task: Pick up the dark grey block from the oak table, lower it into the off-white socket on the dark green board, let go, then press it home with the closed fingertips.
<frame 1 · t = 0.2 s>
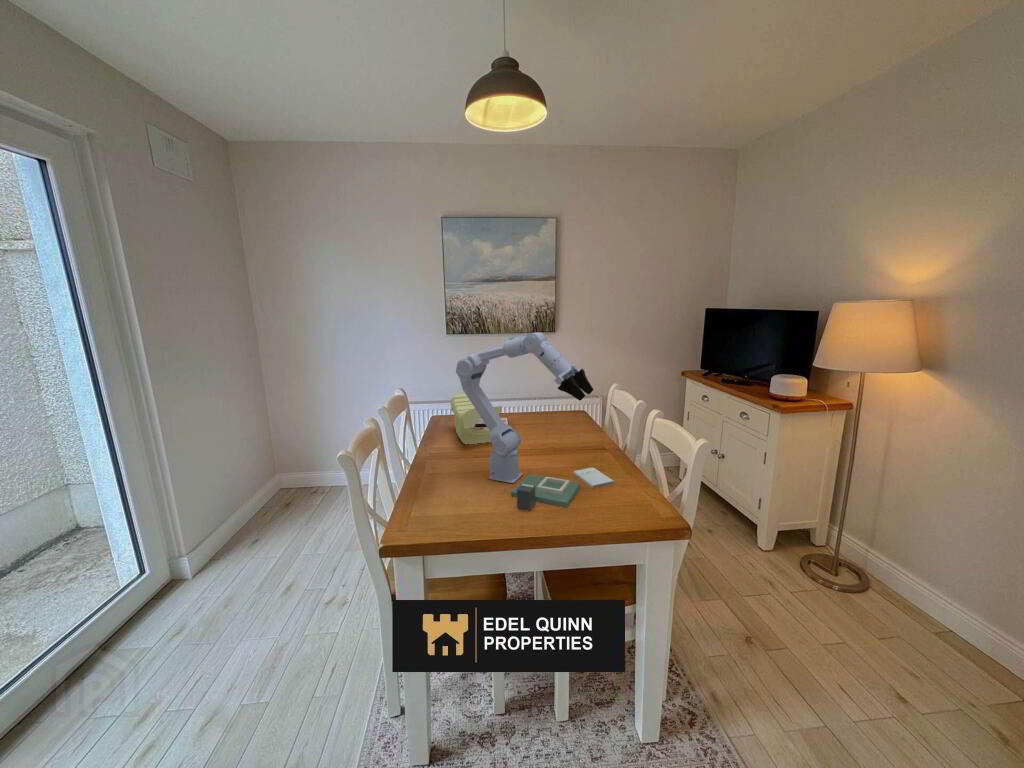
hand: (587, 395, 119), 31 cm above the table, tool tilted 45°, fingers open, 7 cm apart
board: (546, 491, 127), on the table
ridged pale green box: (476, 439, 178), on the table
external hard drive: (593, 480, 135), on the table
dark grey block: (526, 506, 118), on the table
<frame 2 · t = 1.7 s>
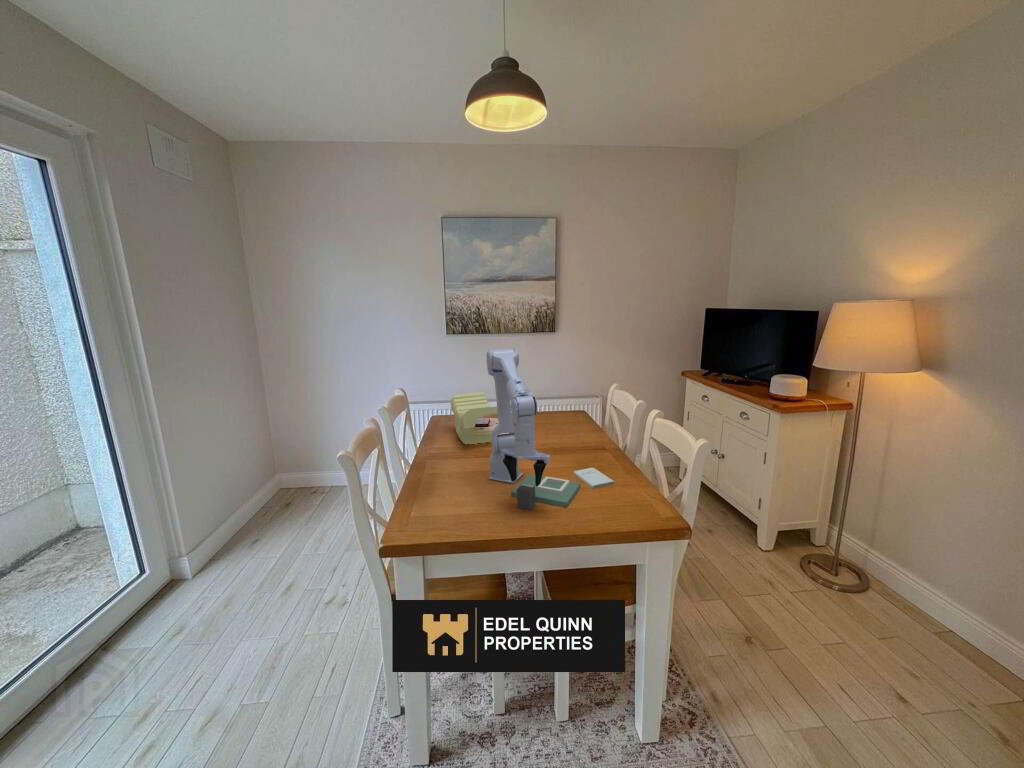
hand: (525, 482, 116), 8 cm above the table, tool pointing down, fingers open, 7 cm apart
nothing on the table moved.
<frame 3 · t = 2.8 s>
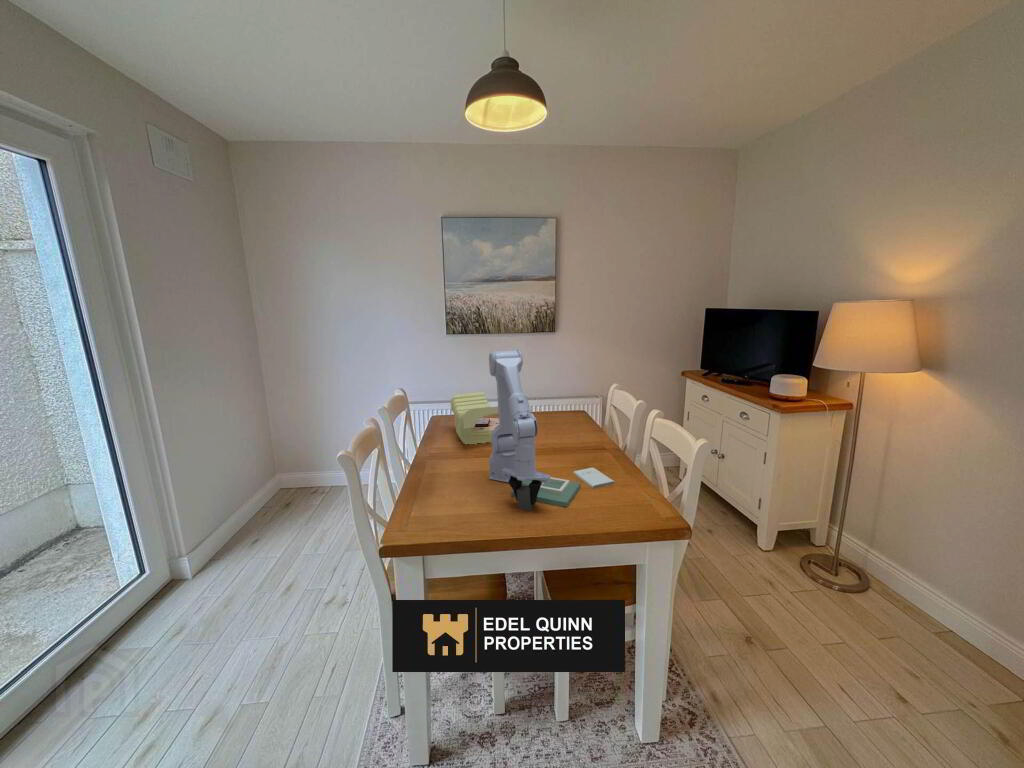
hand: (526, 502, 118), 1 cm above the table, tool pointing down, fingers closed on dark grey block, 4 cm apart
dark grey block: (526, 506, 118), on the table, touching gripper
everything else where it was.
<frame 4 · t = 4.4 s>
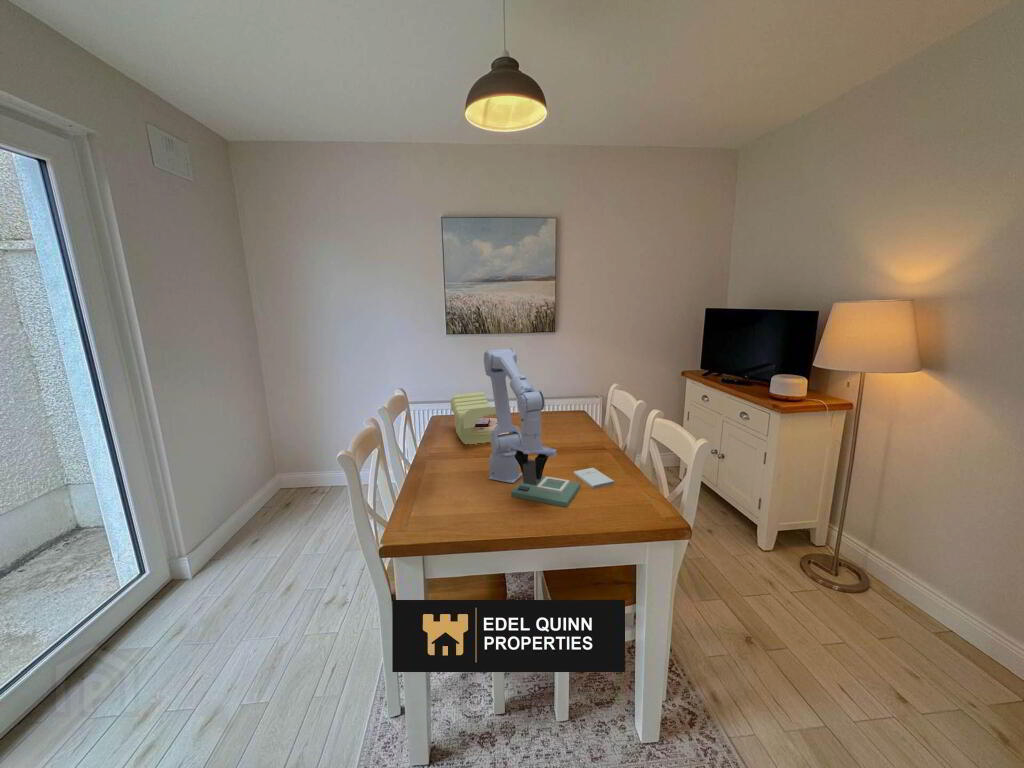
hand: (532, 476, 118), 8 cm above the table, tool pointing down, fingers closed on dark grey block, 4 cm apart
dark grey block: (532, 481, 118), point 7 cm above the table, touching gripper
everything else where it was.
when the fingers open (4 cm above the table, at t = 6.2 s): dark grey block stays where it is, resting on board.
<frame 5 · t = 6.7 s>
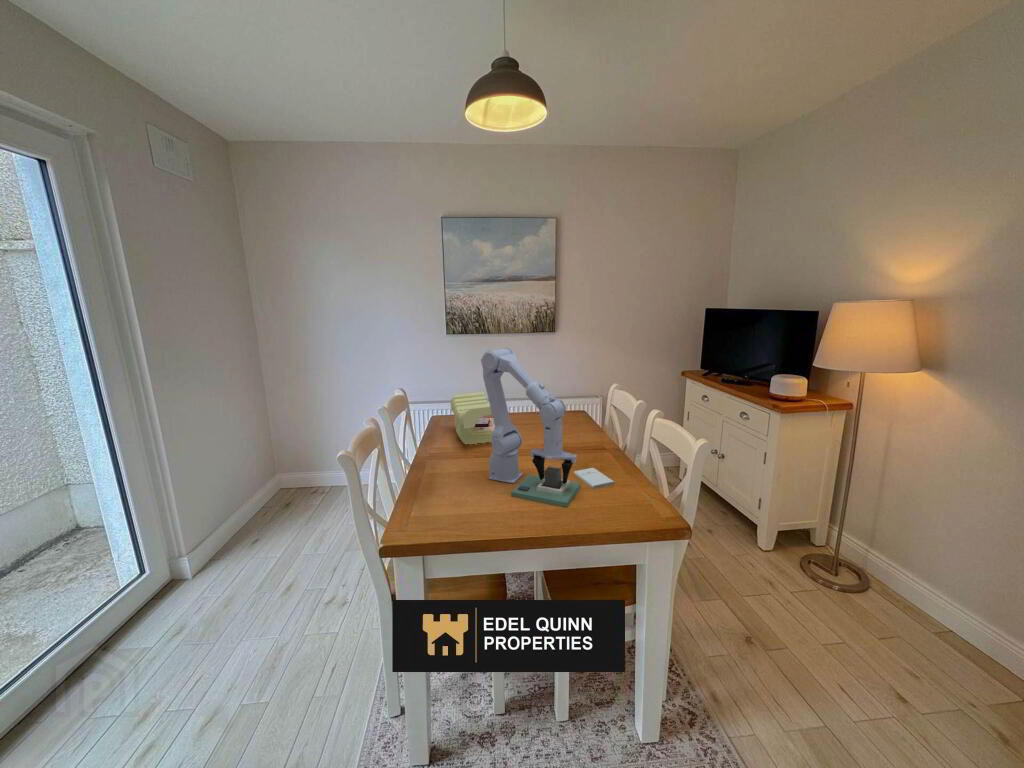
hand: (553, 480, 126), 4 cm above the table, tool pointing down, fingers open, 7 cm apart
dark grey block: (553, 487, 126), point 1 cm above the table, touching board
everything else where it was.
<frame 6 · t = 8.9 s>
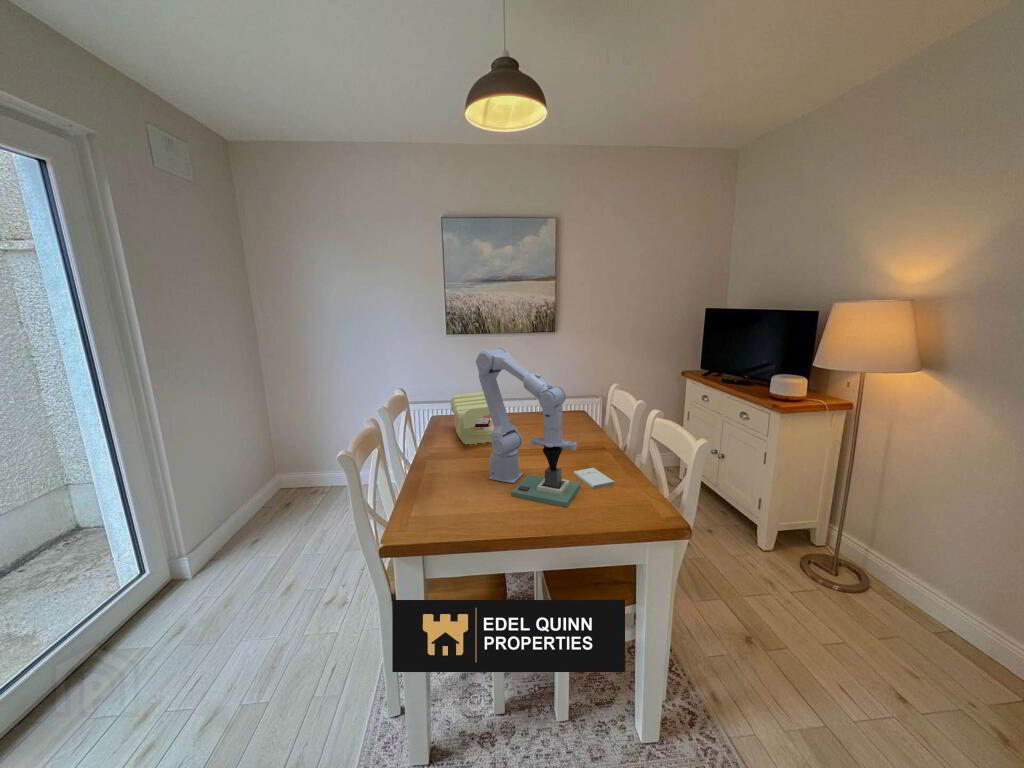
hand: (553, 468, 125), 8 cm above the table, tool pointing down, fingers closed, pressing on dark grey block
dark grey block: (553, 487, 126), point 1 cm above the table, touching board, gripper
everything else where it was.
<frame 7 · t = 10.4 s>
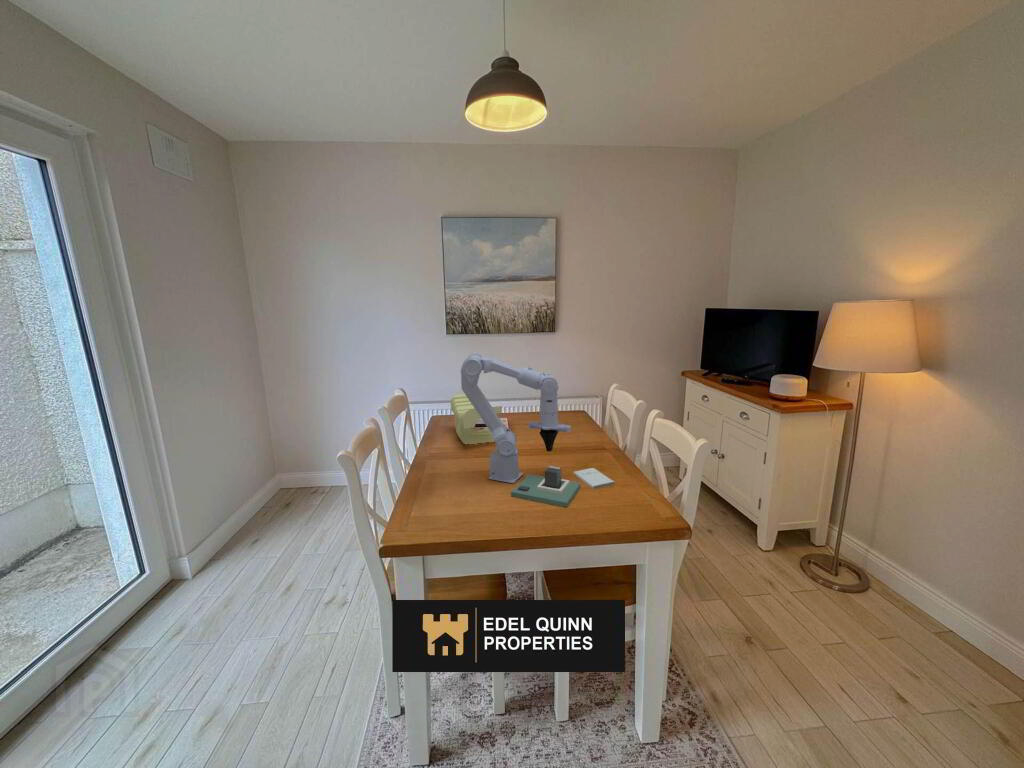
hand: (549, 450, 136), 9 cm above the table, tool pointing down, fingers closed
dark grey block: (553, 487, 126), point 1 cm above the table, touching board
everything else where it was.
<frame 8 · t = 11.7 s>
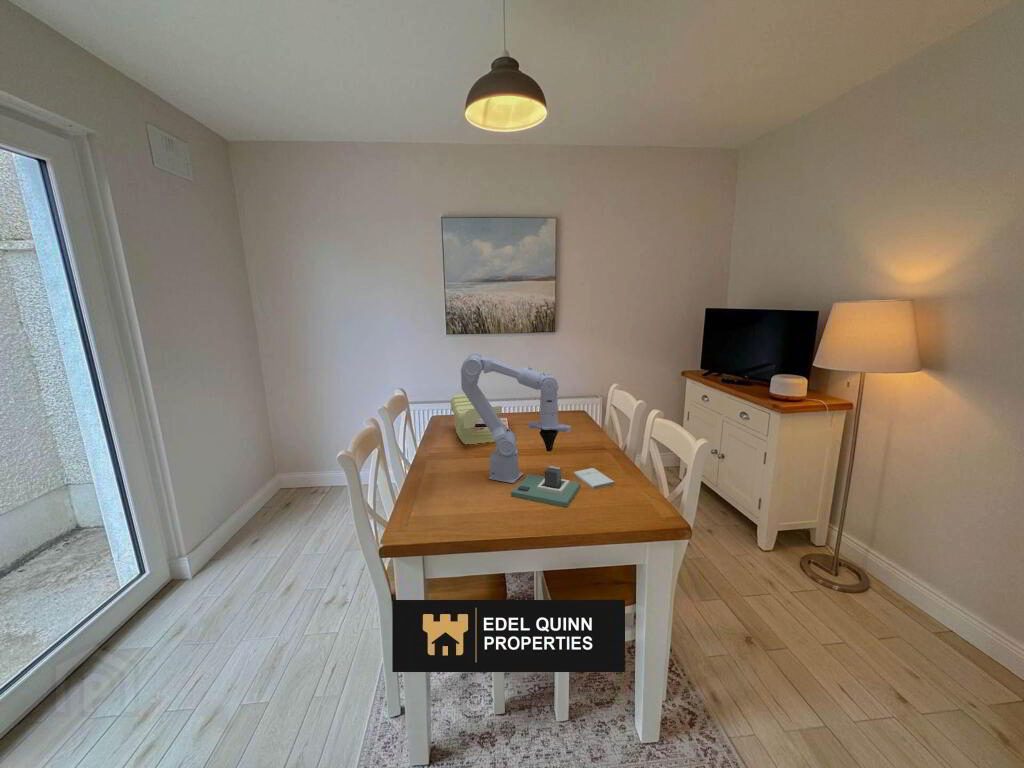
hand: (549, 450, 136), 9 cm above the table, tool pointing down, fingers closed
nothing on the table moved.
at the end: dark grey block 0.3 cm from the target spot on the board, point 1.5 cm above the board's base; dark grey block tilted 0°; the gripper is holding nothing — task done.
